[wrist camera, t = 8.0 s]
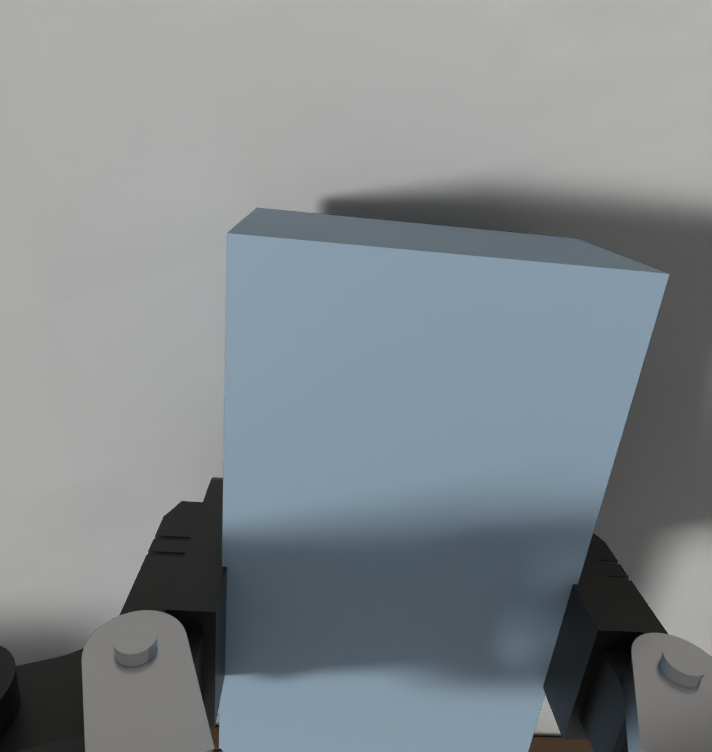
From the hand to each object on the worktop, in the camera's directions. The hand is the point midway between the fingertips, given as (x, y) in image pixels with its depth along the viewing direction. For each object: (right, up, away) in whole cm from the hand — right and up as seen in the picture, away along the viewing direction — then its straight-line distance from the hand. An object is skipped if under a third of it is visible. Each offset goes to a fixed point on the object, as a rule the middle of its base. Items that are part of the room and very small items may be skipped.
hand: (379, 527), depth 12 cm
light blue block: (0, 0, 0) cm, 0 cm away
